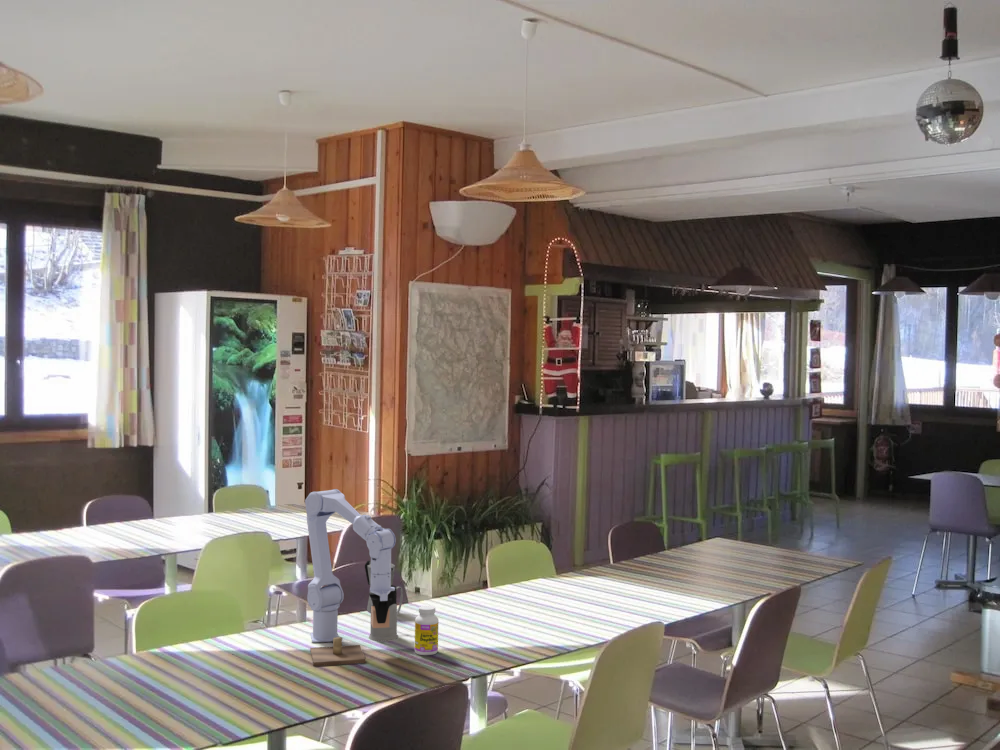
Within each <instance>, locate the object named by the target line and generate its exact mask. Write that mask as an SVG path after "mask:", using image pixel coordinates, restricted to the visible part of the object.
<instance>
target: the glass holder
mask: <svg viewBox="0 0 1000 750" xmlns="http://www.w3.org/2000/svg"><path fill="white" fill-rule="evenodd" d="M391 587H394V588H395V591H391V592H390V593H389V596H388V598H392V602H391V604H390V606H389V609H390V618H389V627H386V628H373V627H372V625H371V624H370V632H369V636H368V639H369V640H370V641H374V642H392V641H395V640H397V639H398V638H399V635H398V632H397V630H398V629H397V628H398V627H397V626H398V625H397V624H398V621H397V620H398V615H399V614H400V612H401V608H402V605H403V598H404V590H403V588H402V587H401V586H396V585H394V584H393V585H391ZM398 589H399V590H400V597H399V603H397V593H398V592H397V591H398ZM371 606H373V603H372V600H371Z"/></svg>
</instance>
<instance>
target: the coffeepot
mask: <svg viewBox="0 0 1000 750" xmlns="http://www.w3.org/2000/svg"><path fill="white" fill-rule="evenodd" d="M364 571H365V575H366V581H367V584H368V585H369V586H371V560H367V561H366V562H365V564H364ZM395 572H396V565H395V564H394V563H391V585H393V586H394V578H395ZM369 593H372V592H370V591H369ZM366 610H367V612H368V613H370V614H371V597H370V595H369V594H368V601H367V606H366Z"/></svg>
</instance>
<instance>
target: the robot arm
mask: <svg viewBox="0 0 1000 750" xmlns="http://www.w3.org/2000/svg"><path fill="white" fill-rule="evenodd" d="M304 504H305V511H306V525H307V529H308V530H307V532H308V538H309V546H310V554H311V562H312V569H313V579H312V580H310V582H309V583H308V585H307V596H306V598H307V599H306V600H307V603H308V606H309V608H310V610H311V611H312V632H310V638H311V642H312V643H327V642H330V643H331V642H333V638H335V637H340V635H339V633H338V616H339V615H338V612H339V610H338V609H340V604H342V603H343V600H344V595H345V594H344V590H343V587H342V586H341V580H340V579H339V578H338V577H337V576H335V575H334V574H333V567H332V561H331V552H330V544H329V538H328V529H327V521H328V520H329V519H330V517H331V516H333V515H334V514H335V513H337V515H340V517H342V518H344V519H345V520H346V521H347V522H349V523H350V524H352V529H353V531H354V533H356V534H357V535H358V536H359V537H360V538H361V539H363V540H364V541H365V542H366V546H367V548H368V551H369V554H368V555H369V557H370V561H371V586H370V585H369V586H370V587H369V593H368V596H369V595H370V597H371V600H372V603H373V606H375V610H376V618H377V622H378V623H385V622H386V618H387V613H388V609H389V606H390V604H391V602H392V598H388V596H389V593H390V592H391V591H395V588H394V587H391V564H392V549H393V548H394V547H395V545H396V543H397V541H396V540H397V538H396V535H395V533H394V532H393V530H392V529H391V528H385V527H382V525H381V524H378V523H377V522H376V521H374V520H373V518H372V516H370V515H369V514H360V513H359V512H358V511H357V510H356V509H355V508H354V506H352V505H351V503H349V501H347V499H346V496H345V494H344V493H342V491H341V490H339V489H337V488H334V489H329V490H321V491H312V492H309V494H308V495H307V497H306V498H305V500H304ZM370 592H372V593H370Z"/></svg>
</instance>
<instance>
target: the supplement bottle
mask: <svg viewBox="0 0 1000 750" xmlns="http://www.w3.org/2000/svg"><path fill="white" fill-rule="evenodd" d="M418 613H419V615H417V616H416V617H415V620H414V652H415V654H417V655H420V656H432V655H435V654H437V653H438V651H439V618H438V617H437V615H435V613H436V607H435V606H433V605H422V606H419V607H418Z"/></svg>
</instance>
